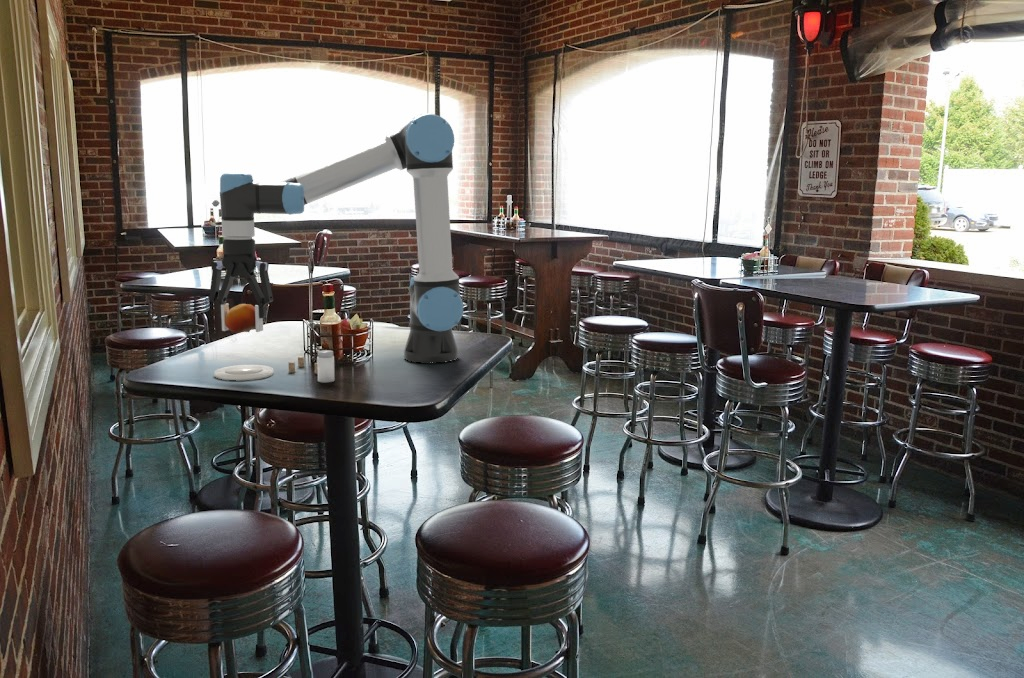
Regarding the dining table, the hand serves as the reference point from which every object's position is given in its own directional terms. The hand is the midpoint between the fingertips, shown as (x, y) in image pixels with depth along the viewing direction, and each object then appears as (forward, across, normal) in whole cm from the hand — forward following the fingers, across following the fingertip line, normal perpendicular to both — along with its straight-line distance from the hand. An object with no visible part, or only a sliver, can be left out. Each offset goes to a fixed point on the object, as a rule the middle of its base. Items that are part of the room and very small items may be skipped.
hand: (242, 330), depth 201 cm
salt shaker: (+11, -22, +3) cm, 25 cm away
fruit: (0, 0, 0) cm, 0 cm away
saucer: (+11, 0, 0) cm, 11 cm away
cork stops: (+11, -14, -8) cm, 20 cm away
